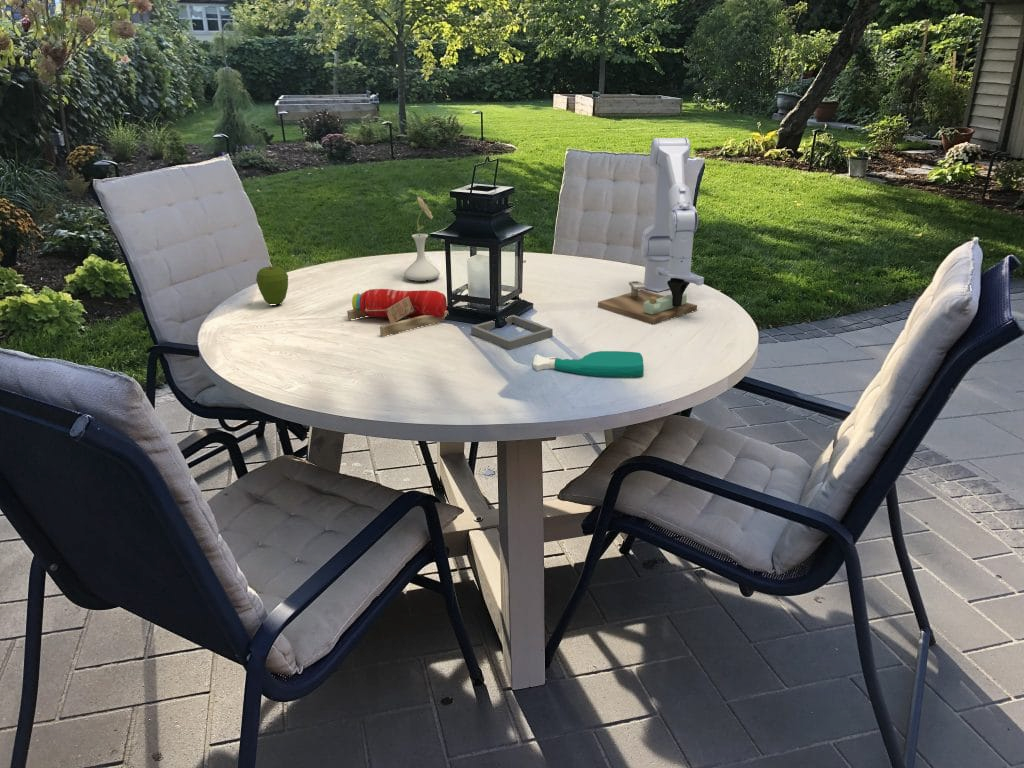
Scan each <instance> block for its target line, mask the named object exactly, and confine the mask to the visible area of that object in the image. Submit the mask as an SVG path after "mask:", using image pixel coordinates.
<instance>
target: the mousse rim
mask: <svg viewBox="0 0 1024 768" xmlns="http://www.w3.org/2000/svg"><path fill="white" fill-rule="evenodd" d="M506 317H507V316H506ZM505 321H506V322H507V324H511V325H515V324H517V325H516V326H518V325H519V326H518V327H520V326H522V327H521V328H523V327H525V328H524V329H526V328H527V329H526V330H528V329H529V330H528V331H531V330H532V331H531V332H532V333H528V334H526V335H525V334H524V335H522V336H518V337H515V338H511V339H509V338H507V337H504V336H503V335H499V334H496V333H494V332H491V330H490V329H493V328H494V327H495V321H493V320H489V321H485V322H482V323H478V324H474V325H472V326H470V334H471V335H473V336H476V337H477V338H480V337H481V339H483V340H485V341H487V340H488V341H487V342H490V343H492V342H493V343H492V344H494V345H497V346H499V345H500V347H501V348H505V349H507V350H513V349H517V348H520V347H522V345H523V346H526V345H525V344H527V345H529V343H530V344H533V343H536V342H539V340H540V341H543V340H546V339H550V338H552V337H554V336H553V335H554V334H553V333H554V332H553V328H551V327H548V326H545V325H543V324H539V323H537V322H534V321H532V320H529V319H526V318H523V317H520V316H518V315H515V314H511V315H508V317H507V318H505ZM512 323H514V324H512ZM487 330H489V331H487ZM493 330H494V329H493ZM549 337H550V338H549ZM545 338H546V339H545ZM542 339H543V340H542ZM535 341H536V342H535ZM532 342H533V343H532ZM519 346H520V347H519ZM516 347H517V348H516Z"/></svg>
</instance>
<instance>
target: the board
mask: <svg viewBox="0 0 1024 768" xmlns="http://www.w3.org/2000/svg"><path fill="white" fill-rule="evenodd" d="M643 284H644V283H642V282H641V281H640V280H637V281H628V285H629V286H630V288H631V290H630V292H628V293H625V294H621V295H617V296H615V297H611V298H607V299H604V300H600V301H597V308H600V309H603V310H606V311H610V312H613V313H615V314H619V315H621V314H622V316H625V317H628V318H632V319H634V318H635V319H634V320H637V319H638V320H637V321H640V320H641V321H640V322H644V323H648V324H650V323H651V325H653V324H654V325H657V324H659V323H662V321H663V322H667V321H669V320H672V319H671V318H673V319H675V318H674V317H676V318H678V316H679V317H681V315H682V316H684V315H683V314H685V315H687V314H686V313H688V314H690V313H689V312H691V313H693V312H692V311H694V312H696V311H695V310H697V311H698V305H697V304H694V303H690V302H687V301H686V304H683V305H681V306H678V307H674V308H671V309H668V310H664V311H661V312H660V313H658V314H648V313H645V312H643V303H645V302H646V301H649V300H650V301H649V302H650V303H656V300H657V299H658V298H661V297H665V296H666V295H662V294H659V293H658V294H657V293H654V292H652V291H649V290H646V289H645V285H643ZM668 319H669V320H668Z"/></svg>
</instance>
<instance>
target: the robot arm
mask: <svg viewBox="0 0 1024 768" xmlns="http://www.w3.org/2000/svg"><path fill="white" fill-rule="evenodd" d="M649 150H650V153H649V165H650V166H651V167H654V168H655V188H654V202H653V204H654V205H653V215H652V216H653V218H652V224H651V225H649V226H648V227H647V228H645V229H644V230H643V232H642V235H641V241H640V253H641V256H642V257H643V258H645V263H644V264H645V266H644V282H643V283H642V284H643V285H645V289H644V290H647V291H651V292H656V293H660V292H664V291H666V290H669V291H670V292H671V294H672V296H673V298H672V305H673V306H674V307H678V306H681V303H682V296H683V294H685V292H686V289H687V288H688V286H689V285H690V284H694V285H696V286H702V285H704V280H705V277H704V276H701V275H698V274H696V273H693V272H692V271H691V270H692V269H691V268H692V257H693V245H694V233H696V231H697V229H698V225H699V218H698V216H699V214H698V211H697V209H696V207H695V206H694V205H693V200H692V195H691V193H692V192H691V188H690V187H689V186H688V185H686V182H685V181H686V179H685V177H686V176H685V165H686V164H687V162H688V159H689V158H690V155H691V142H690V139H689V138H688V137H686V136H685V137H659V138H658V137H654V138H653V139H652V141H651V143H650V149H649Z"/></svg>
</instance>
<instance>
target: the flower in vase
mask: <svg viewBox="0 0 1024 768" xmlns="http://www.w3.org/2000/svg"><path fill="white" fill-rule="evenodd" d="M416 199H417V202H418V204H419V206H420V207H421V210H420V212H419V214H418V217H417V220H416V221H415V222H416V225H417V229H416V232H417V231H418V233H414V234H412V235H411V237H412V239H413V240H414V243H415V245H416V252H417V253H416V254H417V256H416V258H415V260H414V261H413V262H412V263H411V264H410V265H409V266H408V267H407V268H406V269H405V271H404V272H403V277H405V279H407V280H411V281H413V280H414V281H415V282H427V281H426V280H428V281H432V280H435V279H436V278H438V277H439V276H440V274H441V271H440V270H439V269H438V268H437V267H436V266H435V265H434V264H432V263H431V262H430V261H428V260H427V258H426V255H425V254H426V253H425V246H426V245H425V244H426V240H427V238H428V237H429V234H428V233H420V231H421V230H423V228H425V226H424V225H422V224H421V225H420V224H419V221H420V217H421V215H422V213H423V212H424V214H425V215H426V216H427V217H428V218H429V219H430V220H433V218H434V216H433V213H432V212H431V211H430V209H429V208H428V207H429V206H428V205H427V203H425V202H424V199H423V198H421V197H420V196H417V198H416ZM414 281H413V282H414Z"/></svg>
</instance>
